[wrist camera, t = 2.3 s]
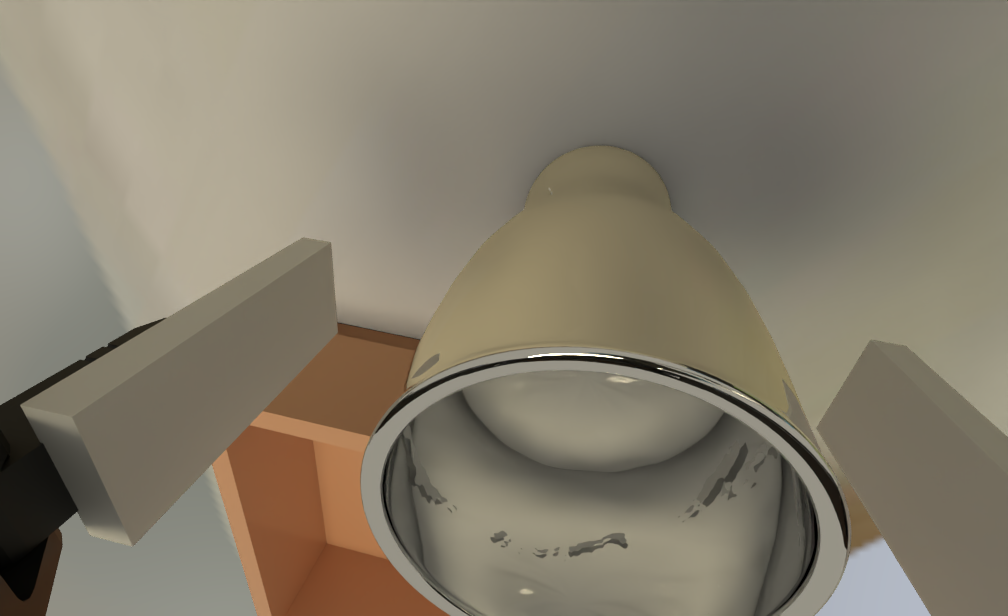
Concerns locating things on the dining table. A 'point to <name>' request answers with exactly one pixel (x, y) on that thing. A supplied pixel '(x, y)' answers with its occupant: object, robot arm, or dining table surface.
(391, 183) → the dining table surface
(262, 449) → the open box
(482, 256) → the beer glass
